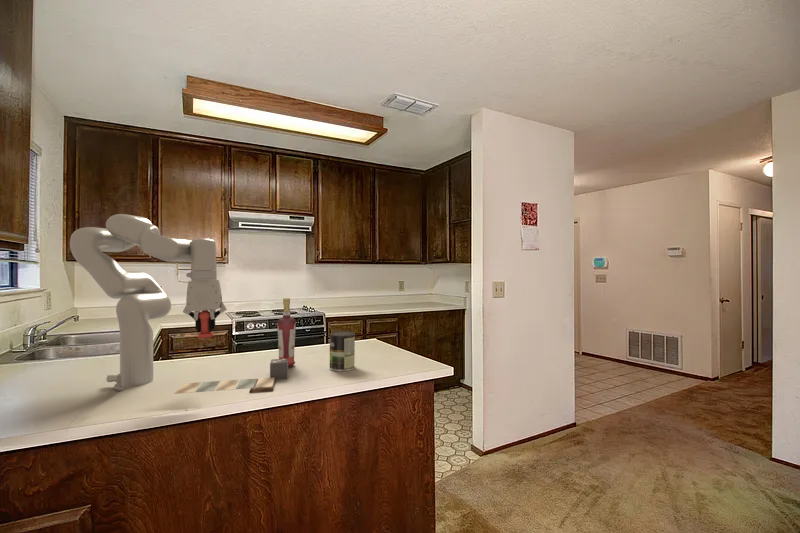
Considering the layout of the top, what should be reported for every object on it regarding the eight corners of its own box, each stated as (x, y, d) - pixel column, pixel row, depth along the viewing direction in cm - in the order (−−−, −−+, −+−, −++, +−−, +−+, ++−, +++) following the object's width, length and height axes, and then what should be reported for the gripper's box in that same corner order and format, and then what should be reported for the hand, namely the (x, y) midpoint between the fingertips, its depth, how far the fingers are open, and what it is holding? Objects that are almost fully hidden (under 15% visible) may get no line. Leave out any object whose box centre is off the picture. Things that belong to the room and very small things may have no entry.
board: (172, 398, 120) (172, 394, 120) (183, 386, 132) (183, 382, 132) (273, 390, 127) (273, 386, 127) (275, 380, 139) (275, 376, 139)
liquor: (295, 368, 155) (295, 299, 155) (276, 369, 154) (276, 299, 154) (296, 363, 163) (296, 297, 162) (277, 364, 161) (278, 297, 161)
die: (270, 379, 139) (270, 363, 139) (271, 375, 145) (271, 359, 145) (287, 378, 141) (287, 362, 141) (287, 374, 147) (287, 358, 147)
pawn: (196, 338, 125) (195, 311, 125) (200, 336, 129) (199, 309, 129) (211, 337, 126) (210, 310, 126) (214, 335, 130) (213, 309, 130)
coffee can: (331, 372, 149) (331, 336, 149) (327, 365, 159) (327, 331, 159) (357, 370, 152) (357, 334, 152) (352, 364, 162) (352, 330, 162)
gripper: (173, 277, 122) (174, 335, 122) (228, 275, 126) (229, 331, 126) (180, 276, 129) (182, 331, 129) (232, 275, 133) (234, 328, 133)
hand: (205, 331), depth 127 cm, fingers closed on pawn, 3 cm apart
